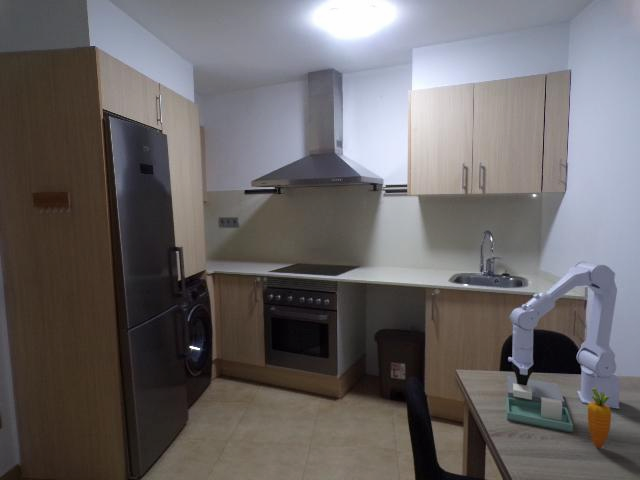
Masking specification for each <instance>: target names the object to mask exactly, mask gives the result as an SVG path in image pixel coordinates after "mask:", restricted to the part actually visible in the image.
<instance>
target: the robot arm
mask: <svg viewBox="0 0 640 480" xmlns="http://www.w3.org/2000/svg"><path fill="white" fill-rule="evenodd" d="M615 276H616V272H615V271H613V269H612V268H610V267H609V266H607V265H605V264H597V263H592V262H587V261H583V260H582V261H578V262H576V263H575V264H574V265H573V266H571V267H569V269H568V271H567V272H566V274H564V275H563V276H562V277H561V278H560V279H559V280H558V281H557V282H556V283H555V284H554V285H553V286H551V287H550V288H549V289H548V290H547V291H546V292H539V293H535V294H533V295H532V298H531V299H529V300H528V301H527V302H526V303H523V304H522V305H521V307H516V308H514V309H513V310H512V312H511V313H510V314H509V315H508V317H509V320H510V322H511V323H512V354H511V355H512V357H511V356H508V358H507V360H508V362H512V364H511V368H512V370H513V372H514V374H515V377H516V379H517V384H520V385H526V386H527V383H528V379H530V376H532V373H533V371H534V370H533V365H534V358H533V357H534V328H536V327H538V323H539V321H540V320H541V318H542V317H543V316H544V315H546V314H548V312H549V311H551V310H552V309H554V308H555V306H556V301H558V300H559V299H560V298H561V297H563V296H564V295H566V294H567V293H569V292H570V291H571V290H573V289H575V287H588V288H589V289H590V290H591V291H592V292H593V299H592V300H593V301H592V307H591V313H590V319H589V320H590V321H589V327H588V328H589V329H588V332H587V333H588V334H587V340H586V341H584V342H582V343H581V344H580V345H581V346H580V349H579V350H578V352H577V354H576V360H577V362H578V364H580V369H581V377H580V378H581V381H580V382H581V383H580V390H577V391H576V392H577V395H578V397H579V398H580V401H581V403H584V404H587V405H588V404H589V403H591V402H595V400H594V399H593V398H592V397H591V396H594V397H596V396H595V394H594V392H593V390H592V389H593V388H596V390H597V392H598V394H599V396H600V400H601V395H600V392H603V393H604V396H608V397H609V399H608V400H607V401H606V402H605V403H604V404H605V405H606V406H608V407H609V408H610V409H611V408H613V409H620V381H619V378H618V376H617V375H614V374H615V373H616V371H617V364H616V360H615V358H616V354H615V353H614V350H613V349H612V347H610V341H611V334H612V326H613V319H614V315H615V314H614V313H615V306H616V300H617V294H618V288H617V285H616V284H617V283H616V281H615V278H616V277H615Z"/></svg>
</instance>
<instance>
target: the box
mask: <svg viewBox="0 0 640 480" xmlns="http://www.w3.org/2000/svg"><path fill="white" fill-rule="evenodd" d="M505 401H506V402H505V404H506V405H505V406H506V409H505V410H506V421H511V422H516V423H519V424H520V423H521V424H525V425H531V426H536V427H542V428H545V429H550V430H551V429H552V430H556V431H562V432H566V433H571V434H573V433H574V423H573V420H572V419H571V416H570V412H569V410H568V407H565V406H564V407H562V421H561V420H556V419H551V418H546V417H541V403H537V402H531V401H525V400H520V399H514V398H508V396H507V397H506V399H505Z"/></svg>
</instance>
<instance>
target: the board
mask: <svg viewBox="0 0 640 480" xmlns="http://www.w3.org/2000/svg"><path fill="white" fill-rule="evenodd" d="M513 383H514V384H517V379H516V376H511V375H506V393H507V397H508V398H514V399H520V400H525V401H531V402H537V403H541V397H544V398H550V399H556V400H561V402H562V407H565V400H564V397H563V395H562V391H561V388H560V386H559V384H558V383H556V382H551V381H550V382H549V381H544V380H536V379H530V378H529V379H528V383H527V386H531V390H532V400H531V399H525V398H520V397H514V396H513Z"/></svg>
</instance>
